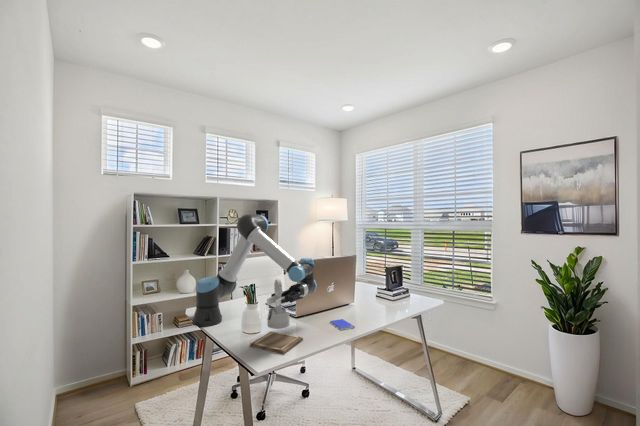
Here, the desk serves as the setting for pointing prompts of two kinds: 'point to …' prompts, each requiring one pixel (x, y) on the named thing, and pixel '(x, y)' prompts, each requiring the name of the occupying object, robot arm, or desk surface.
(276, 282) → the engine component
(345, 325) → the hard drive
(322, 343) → the desk surface
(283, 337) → the walnut board
